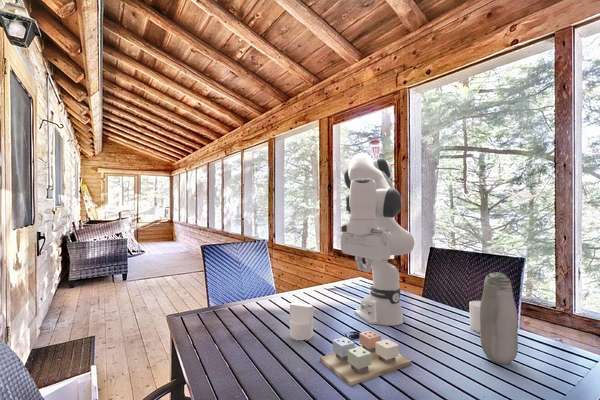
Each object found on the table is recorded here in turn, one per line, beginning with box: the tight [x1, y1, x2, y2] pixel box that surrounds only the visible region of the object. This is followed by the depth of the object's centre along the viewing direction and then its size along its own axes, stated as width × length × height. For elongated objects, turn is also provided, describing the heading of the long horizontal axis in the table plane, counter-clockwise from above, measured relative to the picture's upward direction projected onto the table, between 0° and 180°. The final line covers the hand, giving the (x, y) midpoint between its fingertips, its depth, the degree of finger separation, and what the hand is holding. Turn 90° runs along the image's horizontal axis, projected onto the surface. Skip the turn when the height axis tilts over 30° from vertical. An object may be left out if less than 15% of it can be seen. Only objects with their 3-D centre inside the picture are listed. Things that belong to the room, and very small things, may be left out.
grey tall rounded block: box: [480, 271, 519, 365], centre depth 99 cm, size 10×10×28 cm
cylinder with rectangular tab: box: [289, 301, 314, 341], centre depth 120 cm, size 9×9×12 cm
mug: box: [468, 300, 481, 334], centre depth 122 cm, size 12×8×10 cm
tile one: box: [375, 338, 400, 360], centre depth 98 cm, size 5×5×4 cm
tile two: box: [348, 345, 372, 369], centre depth 93 cm, size 5×5×4 cm
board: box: [319, 344, 413, 387], centre depth 99 cm, size 16×24×4 cm, turn 118°
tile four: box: [358, 330, 382, 349], centre depth 105 cm, size 5×5×4 cm
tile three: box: [332, 336, 356, 357], centre depth 100 cm, size 5×5×4 cm
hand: (364, 271), depth 99 cm, fingers closed
